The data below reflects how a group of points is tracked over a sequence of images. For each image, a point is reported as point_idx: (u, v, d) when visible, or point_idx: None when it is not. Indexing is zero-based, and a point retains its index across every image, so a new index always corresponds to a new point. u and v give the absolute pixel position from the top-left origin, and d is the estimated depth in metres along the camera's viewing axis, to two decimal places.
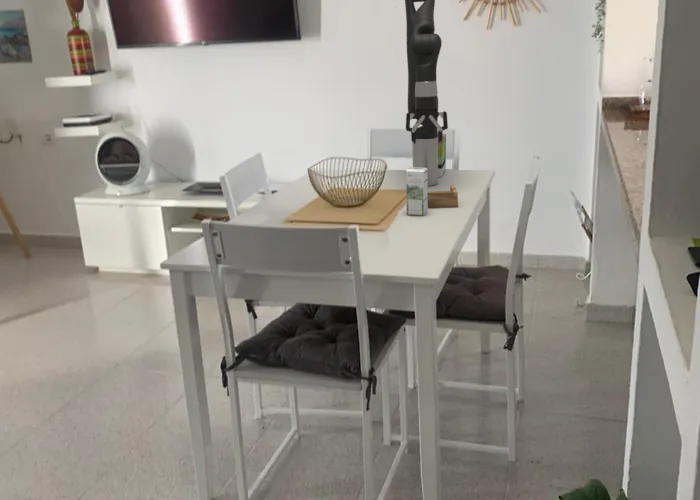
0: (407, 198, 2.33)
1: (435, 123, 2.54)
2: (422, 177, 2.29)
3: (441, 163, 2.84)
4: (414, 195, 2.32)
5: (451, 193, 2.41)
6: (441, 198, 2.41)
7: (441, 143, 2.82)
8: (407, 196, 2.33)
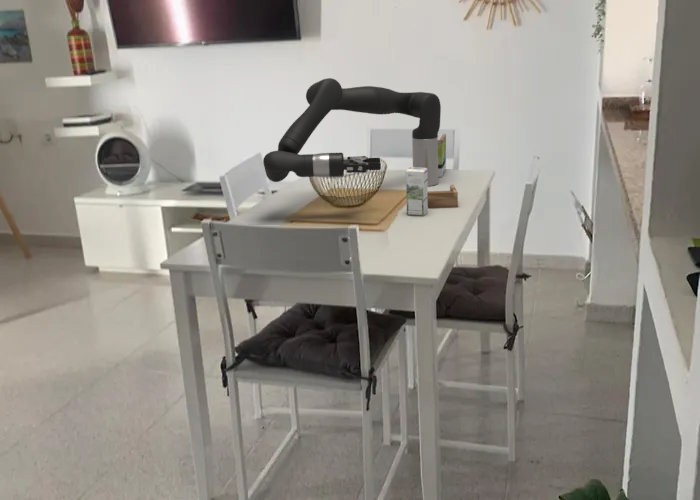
0: (407, 198, 2.33)
1: None
2: (422, 177, 2.29)
3: (441, 163, 2.84)
4: (414, 195, 2.32)
5: (451, 193, 2.41)
6: (441, 198, 2.41)
7: (441, 143, 2.82)
8: (407, 196, 2.33)
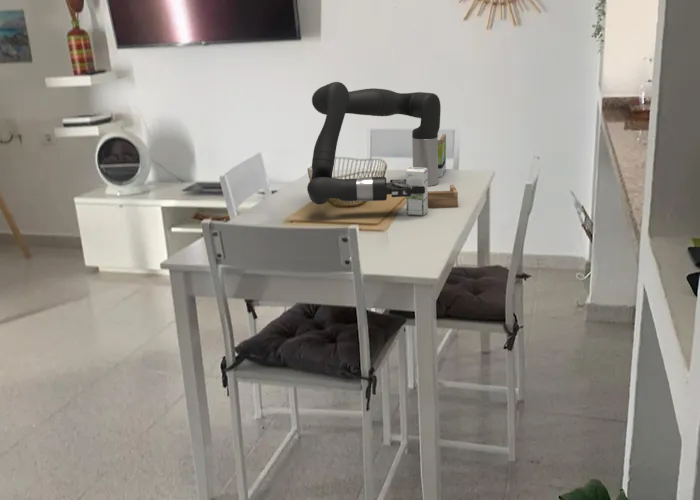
0: (407, 198, 2.33)
1: None
2: (422, 177, 2.29)
3: (441, 163, 2.84)
4: (414, 195, 2.32)
5: (451, 193, 2.41)
6: (441, 198, 2.41)
7: (441, 143, 2.82)
8: None
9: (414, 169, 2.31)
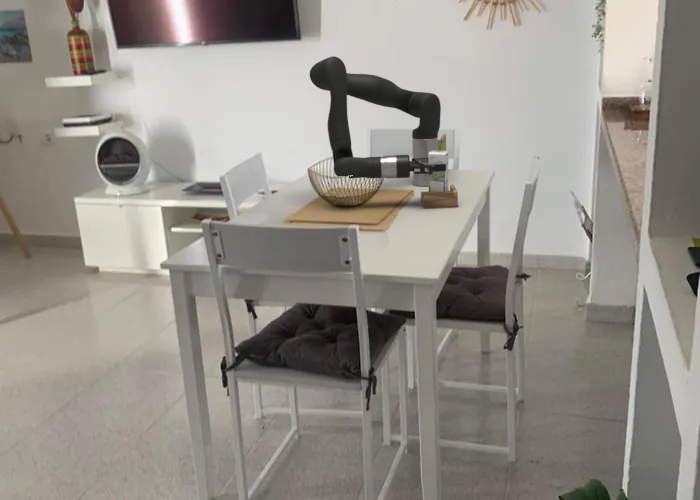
0: (429, 180, 2.43)
1: None
2: (444, 159, 2.39)
3: None
4: (436, 177, 2.42)
5: (451, 193, 2.41)
6: (441, 198, 2.41)
7: (441, 143, 2.82)
8: (429, 178, 2.43)
9: (436, 152, 2.41)
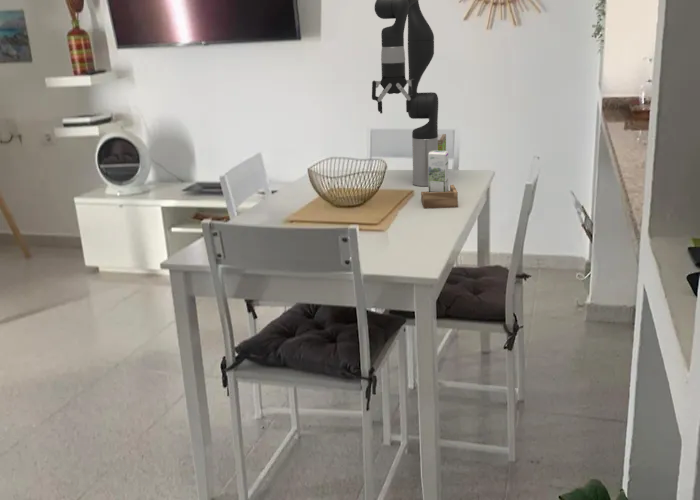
0: (429, 180, 2.43)
1: (403, 92, 2.38)
2: (444, 159, 2.39)
3: None
4: (436, 177, 2.42)
5: (451, 193, 2.41)
6: (441, 198, 2.41)
7: (441, 143, 2.82)
8: (429, 178, 2.43)
9: (436, 152, 2.41)
